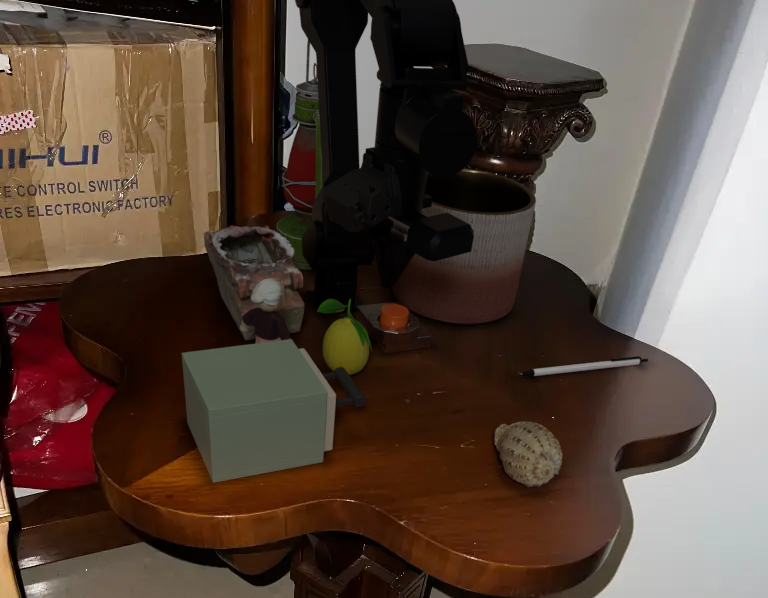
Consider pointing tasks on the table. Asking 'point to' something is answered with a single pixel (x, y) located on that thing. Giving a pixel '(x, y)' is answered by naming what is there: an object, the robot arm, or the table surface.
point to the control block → (393, 330)
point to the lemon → (344, 340)
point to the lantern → (303, 167)
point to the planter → (472, 251)
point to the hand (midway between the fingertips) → (387, 287)
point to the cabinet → (254, 408)
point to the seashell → (528, 452)
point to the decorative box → (255, 271)
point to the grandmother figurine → (266, 313)
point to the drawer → (349, 387)
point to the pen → (586, 366)
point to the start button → (394, 316)
